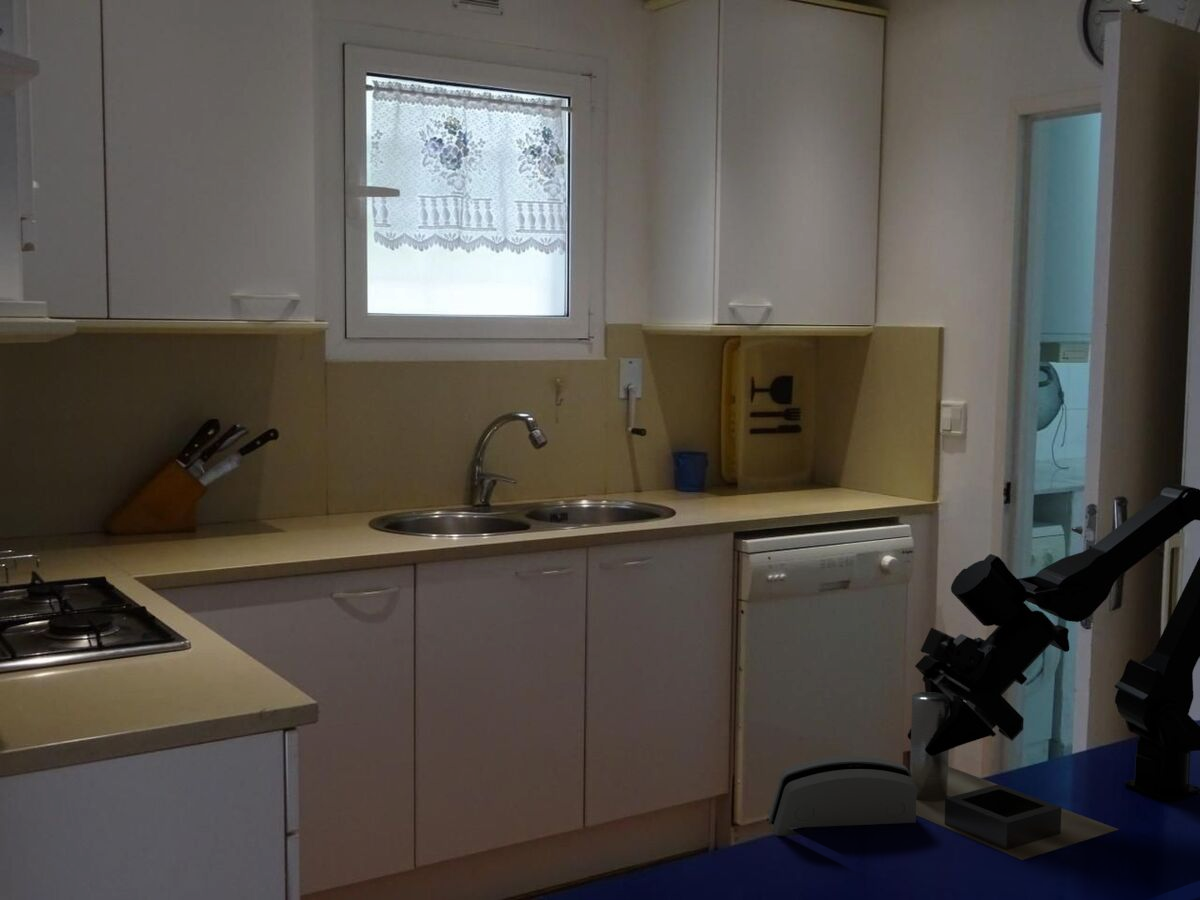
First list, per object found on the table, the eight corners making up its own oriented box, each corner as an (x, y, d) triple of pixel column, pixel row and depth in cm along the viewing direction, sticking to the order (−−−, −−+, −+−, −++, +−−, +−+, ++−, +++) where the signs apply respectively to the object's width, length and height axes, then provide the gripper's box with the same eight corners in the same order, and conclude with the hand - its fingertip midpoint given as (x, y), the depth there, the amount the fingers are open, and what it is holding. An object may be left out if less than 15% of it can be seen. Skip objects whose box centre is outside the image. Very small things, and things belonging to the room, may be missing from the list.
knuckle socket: (997, 809, 156) (998, 784, 156) (1060, 833, 149) (1061, 807, 148) (944, 824, 151) (945, 798, 151) (1006, 850, 144) (1007, 823, 144)
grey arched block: (902, 815, 157) (915, 746, 153) (915, 843, 153) (928, 773, 149) (763, 821, 155) (771, 751, 151) (772, 849, 151) (781, 778, 147)
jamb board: (942, 771, 172) (943, 764, 172) (1118, 838, 150) (1118, 829, 150) (850, 795, 163) (850, 787, 163) (1021, 868, 141) (1022, 859, 141)
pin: (927, 786, 163) (930, 690, 162) (955, 797, 160) (958, 698, 159) (901, 793, 161) (904, 695, 160) (929, 804, 157) (931, 704, 156)
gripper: (932, 590, 168) (846, 680, 167) (1001, 623, 150) (905, 725, 149) (989, 650, 170) (904, 739, 169) (1064, 689, 152) (969, 790, 151)
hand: (918, 746), depth 160 cm, fingers open, 5 cm apart
